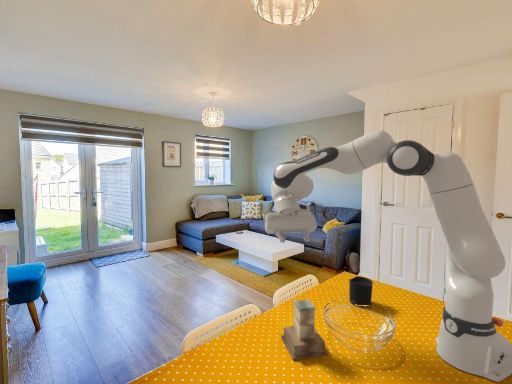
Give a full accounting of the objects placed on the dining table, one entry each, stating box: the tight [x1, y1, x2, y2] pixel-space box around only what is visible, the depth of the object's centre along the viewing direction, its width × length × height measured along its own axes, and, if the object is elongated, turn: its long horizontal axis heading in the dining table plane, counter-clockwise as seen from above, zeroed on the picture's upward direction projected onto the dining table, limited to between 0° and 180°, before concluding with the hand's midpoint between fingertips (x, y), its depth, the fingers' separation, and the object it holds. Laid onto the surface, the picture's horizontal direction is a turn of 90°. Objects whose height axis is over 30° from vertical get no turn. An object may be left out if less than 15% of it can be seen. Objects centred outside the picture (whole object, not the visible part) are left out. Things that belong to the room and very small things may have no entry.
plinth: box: [280, 325, 328, 361], centre depth 86 cm, size 11×11×4 cm
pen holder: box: [348, 275, 374, 306], centre depth 115 cm, size 9×9×10 cm
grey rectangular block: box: [293, 299, 316, 340], centre depth 85 cm, size 5×5×10 cm
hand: (295, 241), depth 97 cm, fingers open, 8 cm apart
